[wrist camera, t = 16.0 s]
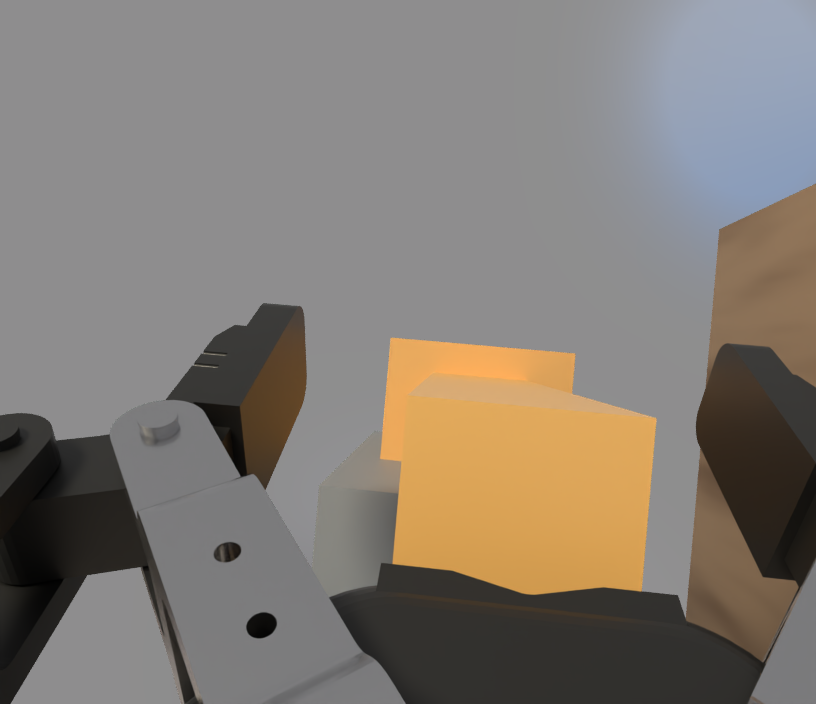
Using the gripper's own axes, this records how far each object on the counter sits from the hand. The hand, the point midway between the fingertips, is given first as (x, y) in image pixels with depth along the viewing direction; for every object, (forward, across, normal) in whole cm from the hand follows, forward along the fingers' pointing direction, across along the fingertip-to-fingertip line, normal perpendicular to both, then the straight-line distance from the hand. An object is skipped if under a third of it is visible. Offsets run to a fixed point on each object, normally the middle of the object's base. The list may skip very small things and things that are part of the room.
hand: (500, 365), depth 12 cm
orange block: (+2, 0, +5) cm, 6 cm away
